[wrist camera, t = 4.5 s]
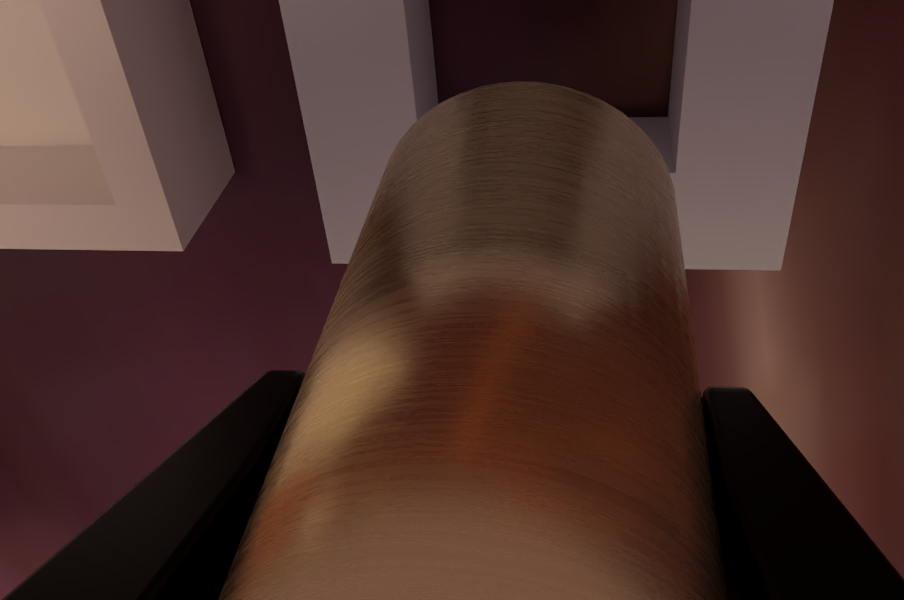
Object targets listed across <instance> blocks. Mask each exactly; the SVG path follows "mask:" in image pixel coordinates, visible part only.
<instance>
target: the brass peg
mask: <svg viewBox="0 0 904 600" xmlns="http://www.w3.org/2000/svg"><path fill="white" fill-rule="evenodd" d="M218 600H728V596H727V589H726V581H725V573H724V566H723V558H722V550H721V543H720V535H719V527H718V520H717V512H716V504H715V497H714V489H713V482H712V474H711V466H710V459H709V451H708V443H707V436H706V428H705V420H704V412H703V405H702V397H701V389H700V382H699V374H698V366H697V359H696V351H695V343H694V336H693V328H692V320H691V313H690V305H689V297H688V290H687V282H686V274H685V267H684V259H683V251H682V244H681V236H680V228H679V221H678V213H677V205H676V198H675V191H674V186H673V183H672V179H671V176H670V173H669V170H668V168H667V166H666V164H665V162H664V160H663V158H662V156H661V154H660V152H659V151H658V149H657V148H656V146H655V145H654V144H653V142H652V141H651V139H650V138H649V137H648V136H647V135H646V134H645V133H644V132H643V130H642V129H641V128H640V127H639V126H638V125H637V124H636V123H635V122H633V121H632V120H631V119H630V118H628V117H627V116H626V115H625V114H624V113H622V112H621V111H619V110H618V109H616V108H615V107H613V106H611V105H610V104H608V103H606V102H605V101H603V100H601V99H598V98H596V97H594V96H592V95H589V94H587V93H585V92H582V91H579V90H575V89H572V88H569V87H565V86H561V85H555V84H549V83H544V82H526V81H517V82H505V83H496V84H491V85H487V86H482V87H477V88H475V89H472V90H469V91H466V92H463V93H460V94H458V95H456V96H454V97H452V98H450V99H448V100H446V101H444V102H442V103H440V104H438V105H437V106H436V107H434V108H433V109H431V110H430V111H428V112H427V113H425V114H424V115H423V116H422V117H421V118H420V119H419V120H417V121H416V122H415V123H414V124H413V125H412V126H411V127H410V128H409V130H408V131H407V132H406V133H405V134H404V136H403V137H402V138H401V139H400V141H399V142H398V144H397V146H396V147H395V149H394V151H393V152H392V154H391V156H390V158H389V161H388V163H387V166H386V168H385V171H384V173H383V176H382V179H381V181H380V184H379V186H378V189H377V191H376V194H375V197H374V199H373V202H372V204H371V207H370V209H369V212H368V215H367V217H366V220H365V222H364V225H363V227H362V230H361V233H360V235H359V238H358V240H357V243H356V245H355V248H354V251H353V253H352V256H351V258H350V261H349V264H348V266H347V269H346V271H345V274H344V276H343V279H342V282H341V284H340V287H339V289H338V292H337V294H336V297H335V300H334V302H333V305H332V307H331V310H330V312H329V315H328V318H327V320H326V323H325V325H324V328H323V330H322V333H321V336H320V338H319V341H318V343H317V346H316V348H315V351H314V354H313V356H312V359H311V361H310V364H309V367H308V369H307V372H306V374H305V377H304V379H303V382H302V385H301V387H300V390H299V392H298V395H297V397H296V400H295V403H294V405H293V408H292V410H291V413H290V415H289V418H288V421H287V423H286V426H285V428H284V431H283V433H282V436H281V439H280V441H279V444H278V446H277V449H276V451H275V454H274V457H273V459H272V462H271V464H270V467H269V470H268V472H267V475H266V477H265V480H264V482H263V485H262V488H261V490H260V493H259V495H258V498H257V500H256V503H255V506H254V508H253V511H252V513H251V516H250V518H249V521H248V524H247V526H246V529H245V531H244V534H243V536H242V539H241V542H240V544H239V547H238V549H237V552H236V554H235V557H234V560H233V562H232V565H231V567H230V570H229V572H228V575H227V578H226V580H225V583H224V585H223V588H222V591H221V593H220V596H219V598H218Z"/></svg>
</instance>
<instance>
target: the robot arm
mask: <svg viewBox="0 0 904 600" xmlns="http://www.w3.org/2000/svg"><path fill="white" fill-rule="evenodd" d="M305 374H306V373H304V372H302V371H286V370H272V371H268V372H266V373H265V374H263V375H262V376H261V377H259V378H258V379H257V380H256V381H255V382H254V383H253V384H251V385H250V386H249V387H248V388H247V389H246V390H244V391H243V392H242V393H241V394H240V395H239V396H237V397H236V398H235V399H234V400H233V401H232V402H230V403H229V404H228V405H227V406H226V407H225V408H224V409H222V410H221V411H220V412H219V413H218V414H217V415H215V416H214V417H213V418H212V419H211V420H210V421H208V422H207V423H206V424H205V425H204V426H203V427H201V428H200V429H199V430H198V431H197V432H196V433H195V434H193V435H192V436H191V437H190V438H189V439H188V440H186V441H185V442H184V443H183V444H182V445H181V446H179V447H178V448H177V449H176V450H175V451H174V452H172V453H171V454H170V455H169V456H168V457H167V458H165V459H164V460H163V461H162V462H161V463H160V464H159V465H157V466H156V467H155V468H154V469H153V470H152V471H150V472H149V473H148V474H147V475H146V476H145V477H143V478H142V479H141V480H140V481H139V482H138V483H136V484H135V485H134V486H133V487H132V488H131V489H130V490H128V491H127V492H126V493H125V494H124V495H123V496H121V497H120V498H119V499H118V500H117V501H116V502H114V503H113V504H112V505H111V506H110V507H109V508H107V509H106V510H105V511H104V512H103V513H102V514H101V515H99V516H98V517H97V518H96V519H95V520H94V521H92V522H91V523H90V524H89V525H88V526H87V527H85V528H84V529H83V530H82V531H81V532H80V533H78V534H77V535H76V536H75V537H74V538H73V539H71V540H70V541H69V542H68V543H67V544H66V545H65V546H63V547H62V548H61V549H60V550H59V551H58V552H56V553H55V554H54V555H53V556H52V557H51V558H49V559H48V560H47V561H46V562H45V563H44V564H42V565H41V566H40V567H39V568H38V569H37V570H36V571H34V572H33V573H32V574H31V575H30V576H29V577H27V578H26V579H25V580H24V581H23V582H22V583H20V584H19V585H18V586H17V587H16V588H15V589H13V590H12V591H11V592H10V593H9V594H8V595H7V596H5V597H4V598H3V599H2V600H218V598H219V596H220V593H221V591H222V588H223V585H224V583H225V580H226V578H227V575H228V572H229V570H230V567H231V565H232V562H233V560H234V557H235V554H236V552H237V549H238V547H239V544H240V542H241V539H242V536H243V534H244V531H245V529H246V526H247V524H248V521H249V518H250V516H251V513H252V511H253V508H254V506H255V503H256V500H257V498H258V495H259V493H260V490H261V488H262V485H263V482H264V480H265V477H266V475H267V472H268V470H269V467H270V464H271V462H272V459H273V457H274V454H275V451H276V449H277V446H278V444H279V441H280V439H281V436H282V433H283V431H284V428H285V426H286V423H287V421H288V418H289V415H290V413H291V410H292V408H293V405H294V403H295V400H296V397H297V395H298V392H299V390H300V387H301V385H302V382H303V379H304V377H305ZM702 405H703V412H704V420H705V428H706V436H707V443H708V451H709V459H710V466H711V474H712V482H713V489H714V497H715V504H716V512H717V520H718V527H719V535H720V543H721V550H722V558H723V566H724V573H725V581H726V589H727V596H728V600H904V579H903V577H902V576H901V575H900V574H899V573H898V571H897V570H896V569H895V568H894V566H893V565H892V564H891V563H890V561H889V560H888V559H887V558H886V557H885V555H884V554H883V553H882V552H881V550H880V549H879V548H878V547H877V545H876V544H875V543H874V542H873V541H872V539H871V538H870V537H869V536H868V534H867V533H866V532H865V531H864V529H863V528H862V527H861V526H860V525H859V523H858V522H857V521H856V520H855V518H854V517H853V516H852V515H851V514H850V512H849V511H848V510H847V509H846V507H845V506H844V505H843V504H842V502H841V501H840V500H839V499H838V498H837V496H836V495H835V494H834V493H833V491H832V490H831V489H830V488H829V486H828V485H827V484H826V483H825V482H824V480H823V479H822V478H821V477H820V475H819V474H818V473H817V472H816V470H815V469H814V468H813V467H812V466H811V464H810V463H809V462H808V461H807V459H806V458H805V457H804V456H803V454H802V453H801V452H800V451H799V450H798V448H797V447H796V446H795V445H794V443H793V442H792V441H791V440H790V439H789V437H788V436H787V435H786V434H785V432H784V431H783V430H782V429H781V427H780V426H779V425H778V424H777V423H776V421H775V420H774V419H773V418H772V416H771V415H770V414H769V413H768V411H767V410H766V409H765V408H764V407H763V405H762V404H761V403H760V402H759V400H758V399H757V398H756V397H755V395H754V394H753V393H752V392H751V391H750V390H748V389H746V388H743V387H724V386H710V387H708V388H706V389H705V391H704V392H703V396H702Z"/></svg>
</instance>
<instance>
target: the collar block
mask: <svg viewBox="0 0 904 600" xmlns="http://www.w3.org/2000/svg"><path fill="white" fill-rule="evenodd" d="M833 3H834V0H678V3H677V15H676V27H675V38H674V50H673V62H672V74H671V86H670V98H669V110H668V117H628V118H630V119H631V120H632V121H633V122H635V123H636V124H637V125H638V126H639V127H640V128H641V129H642V130H643V132H644V133H645V134H646V135H647V136H648V137H649V138H650V139H651V141H652V142H653V144H654V145H655V146H656V148H657V149H658V151H659V152H660V154H661V156H662V158H663V160H664V162H665V164H666V166H667V168H668V170H669V173H670V176H671V179H672V183H673V186H674V191H675V198H676V205H677V213H678V221H679V228H680V236H681V244H682V251H683V259H684V267H685V269H716V270H780V271H781V268H782V263H783V258H784V252H785V247H786V242H787V237H788V232H789V227H790V222H791V217H792V212H793V207H794V202H795V196H796V191H797V186H798V181H799V176H800V171H801V166H802V161H803V156H804V151H805V145H806V140H807V135H808V130H809V125H810V120H811V115H812V110H813V105H814V100H815V94H816V89H817V84H818V79H819V74H820V69H821V64H822V59H823V54H824V49H825V44H826V38H827V33H828V28H829V23H830V18H831V13H832V8H833ZM279 5H280V10H281V15H282V19H283V24H284V29H285V34H286V39H287V44H288V49H289V54H290V59H291V64H292V69H293V74H294V79H295V84H296V89H297V93H298V98H299V103H300V108H301V113H302V118H303V123H304V128H305V133H306V138H307V143H308V148H309V153H310V158H311V163H312V167H313V172H314V177H315V182H316V187H317V192H318V197H319V202H320V207H321V212H322V217H323V222H324V227H325V232H326V236H327V241H328V246H329V251H330V256H331V261H332V263H336V264H349V261H350V258H351V256H352V253H353V251H354V248H355V245H356V243H357V240H358V238H359V235H360V233H361V230H362V227H363V225H364V222H365V220H366V217H367V215H368V212H369V209H370V207H371V204H372V202H373V199H374V197H375V194H376V191H377V189H378V186H379V184H380V181H381V179H382V176H383V173H384V171H385V168H386V166H387V163H388V161H389V158H390V156H391V154H392V152H393V151H394V149H395V147H396V146H397V144H398V142H399V141H400V139H401V138H402V137H403V136H404V134H405V133H406V132H407V131H408V130H409V128H410V127H411V126H412V125H413V124H414V123H415V122H416V121H417V120H419V119H420V118H421V117H422V116H423V115H424V114H425V113H427V112H428V111H430V110H431V109H433V108H434V107H436V106H437V105H438V104H439V103H438V93H437V82H436V72H435V61H434V51H433V40H432V30H431V19H430V9H429V0H279Z"/></svg>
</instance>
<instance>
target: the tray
mask: <svg viewBox="0 0 904 600" xmlns="http://www.w3.org/2000/svg"><path fill="white" fill-rule="evenodd" d="M234 173H235V169H234V166H233V162H232V158H231V154H230V151H229V147H228V143H227V139H226V136H225V132H224V128H223V124H222V121H221V117H220V113H219V109H218V106H217V102H216V98H215V94H214V91H213V87H212V83H211V79H210V76H209V72H208V68H207V64H206V61H205V57H204V53H203V49H202V46H201V42H200V38H199V34H198V31H197V27H196V23H195V19H194V16H193V12H192V8H191V4H190V1H189V0H0V249H57V250H129V251H184V249H185V248H186V246H187V245H188V243H189V242H190V240H191V239H192V237H193V236H194V234H195V233H196V231H197V230H198V228H199V226H200V225H201V223H202V222H203V220H204V219H205V217H206V216H207V214H208V213H209V211H210V210H211V208H212V207H213V205H214V204H215V202H216V201H217V199H218V198H219V196H220V194H221V193H222V191H223V190H224V188H225V187H226V185H227V184H228V182H229V181H230V179H231V178H232V176H233V175H234Z"/></svg>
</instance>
